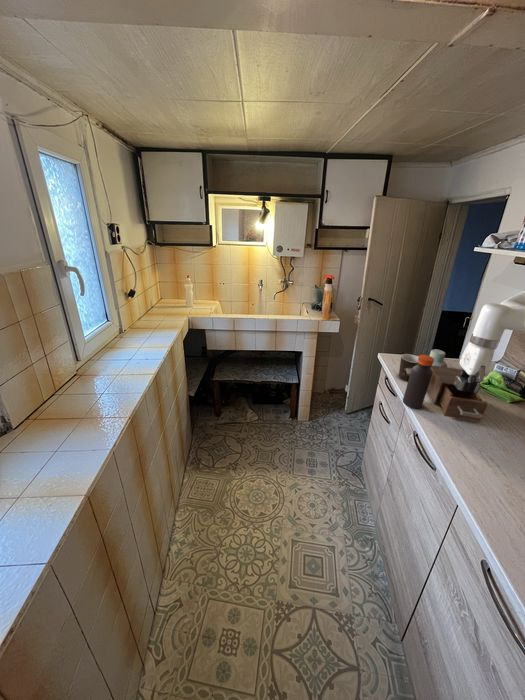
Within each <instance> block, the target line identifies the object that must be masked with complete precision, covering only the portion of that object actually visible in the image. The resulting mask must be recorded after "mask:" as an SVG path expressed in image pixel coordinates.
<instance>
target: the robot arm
mask: <svg viewBox="0 0 525 700" xmlns="http://www.w3.org/2000/svg"><path fill="white" fill-rule="evenodd" d="M505 330H509V331H513V332H516V333H517V332H518V333H524V334H525V290H523V291H520V292H518V293H516V294H514V295H512V296H510V297H508V298H507V299H505V300H503V301H502V302H500V303H495V302H494V303H489V302H488V303H485V304H484V305H482V307H481V310H480V312H479V315H478V317H477V320H476V322H475V326H474V328H473V331H472V332H471V336H470V339H469V341H468V343H467V345H466V347H465V348H464V351H463V352H462V355H461V357H460V360H459V365H460V367H461V368H462V369H461V370H462V371H461V376H460V377H468V378H469V379H468V381H466V383H465V386H464V388H463V391H464V392H469V393H473V392H474V390H475V388H476V385H477V384H478V383H479V382H480V383H481V382H484V379H485V378H484V377H486V376H487V374H488V372H489V370H490V367H491V364H492V361H493V358H494V355H495V352H496V351H495V350H497V349H498V346H499V344H500V341H501V339H502V338H503V335H504V332H505ZM476 373H478V374H476ZM473 376H476V378H473ZM472 378H473V379H472Z"/></svg>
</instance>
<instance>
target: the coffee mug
mask: <svg viewBox="0 0 525 700" xmlns="http://www.w3.org/2000/svg"><path fill="white" fill-rule="evenodd" d="M418 357H419V355H418V356H417V355H415V354H411V353H403V354H401V356H400V363H399V369H398V379H400V380H401V381H404V382H407V383H408V381H409V377H410V374H411V371H412V368H413V366H415V365H417V364H418V363H417V361H418Z"/></svg>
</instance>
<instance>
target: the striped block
mask: <svg viewBox="0 0 525 700" xmlns="http://www.w3.org/2000/svg"><path fill="white" fill-rule="evenodd" d="M468 379H469V378H468V377H460V376H457V377H456V380H455V382H454V385H455V387H456V388H457V389H458V390H462V391H463V388H464V386H465V383H466V381H468ZM472 379H473V378H472ZM480 386H481V382H480V383H478V384H477V385H476V388H475V390H474V392H476V393H477V391H478V392H479V390H478V388H479V389H480ZM477 394H478V393H477Z"/></svg>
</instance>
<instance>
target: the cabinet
mask: <svg viewBox="0 0 525 700" xmlns="http://www.w3.org/2000/svg"><path fill="white" fill-rule="evenodd" d="M430 368H431V370H432V371H433V374H432V377H431V380H430V383H429V386H428V389H427V392H428V395H429V397H430V399H431V400H432V402H433V404H434V405H440V406H441V404H440V403H439V401H438V398H439V396H440V393H441V390H442V387H443V385H449V386H455V385H454V382H455V380H456V377H457V376H461V371H462V369H460V368H454V367H447V368H446V367H439V366H431V367H430ZM479 390H480V387H479V388H478V391H477V394H479Z"/></svg>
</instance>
